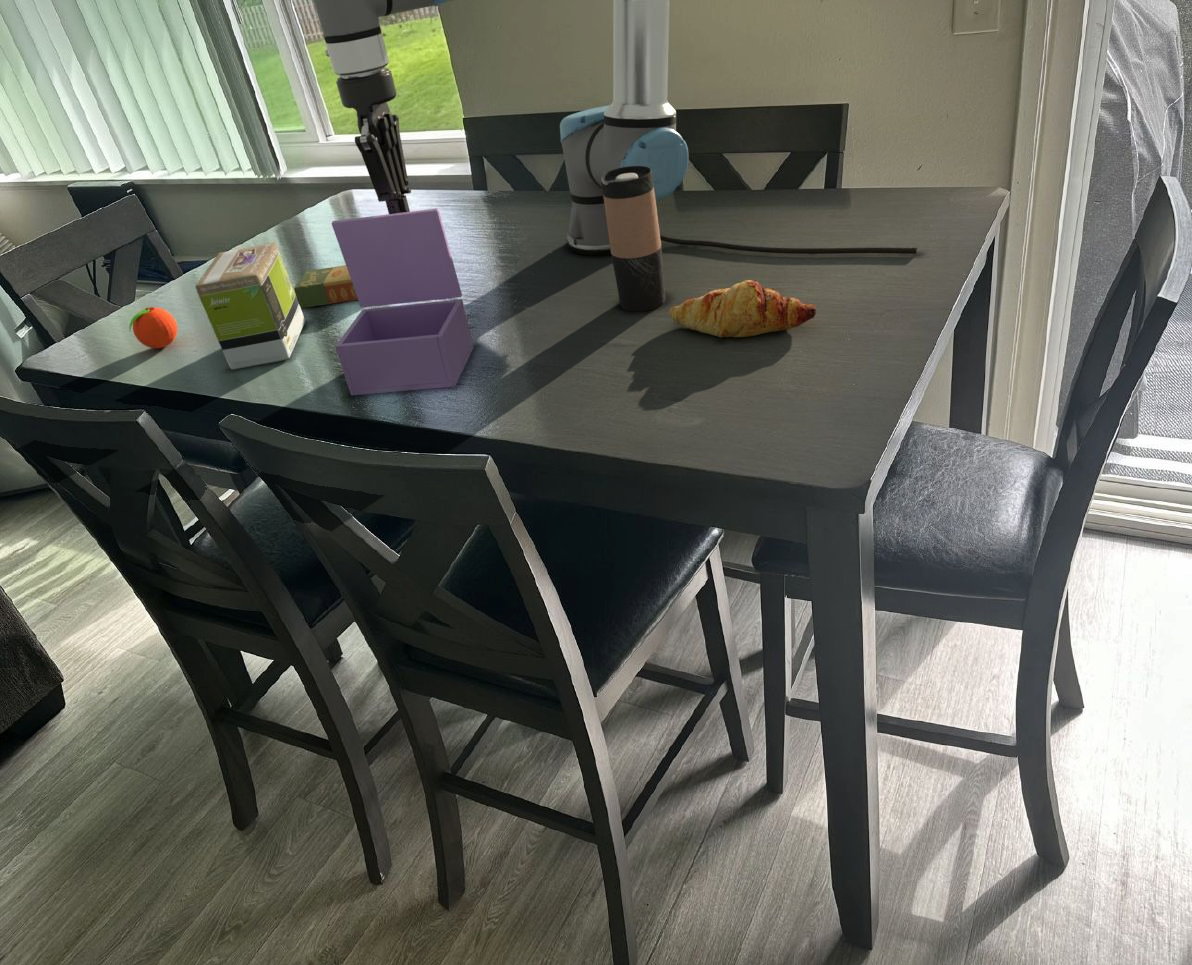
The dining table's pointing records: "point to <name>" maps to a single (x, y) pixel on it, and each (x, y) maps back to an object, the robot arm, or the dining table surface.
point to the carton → (325, 287)
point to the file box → (406, 347)
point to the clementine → (154, 327)
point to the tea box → (251, 305)
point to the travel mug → (634, 237)
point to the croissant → (742, 311)
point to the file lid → (398, 258)
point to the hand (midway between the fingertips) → (406, 241)
